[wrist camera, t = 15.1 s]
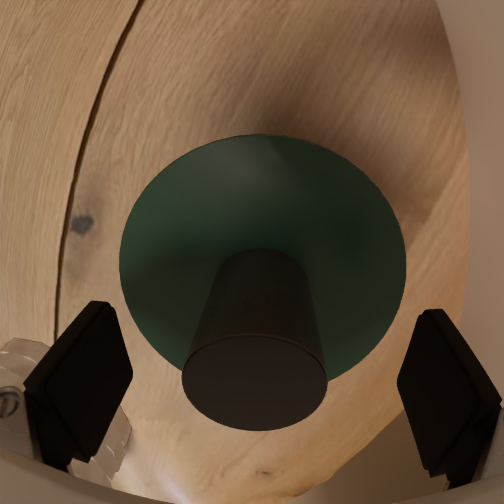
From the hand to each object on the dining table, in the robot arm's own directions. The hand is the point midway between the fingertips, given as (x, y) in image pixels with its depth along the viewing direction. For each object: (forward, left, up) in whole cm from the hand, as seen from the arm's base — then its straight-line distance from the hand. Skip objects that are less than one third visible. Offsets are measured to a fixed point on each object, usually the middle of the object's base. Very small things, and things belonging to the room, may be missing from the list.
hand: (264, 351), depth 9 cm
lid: (0, 0, -5) cm, 5 cm away
